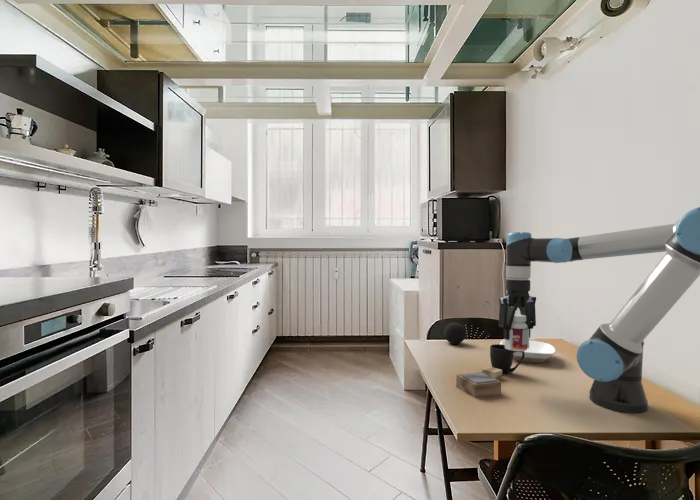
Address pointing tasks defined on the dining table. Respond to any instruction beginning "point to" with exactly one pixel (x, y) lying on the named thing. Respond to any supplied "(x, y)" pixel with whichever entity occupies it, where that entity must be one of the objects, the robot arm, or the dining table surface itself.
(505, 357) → the mug
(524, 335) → the pill bottle
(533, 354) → the bowl
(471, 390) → the walnut stand
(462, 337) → the speaker
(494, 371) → the oak offcut
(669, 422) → the dining table surface
